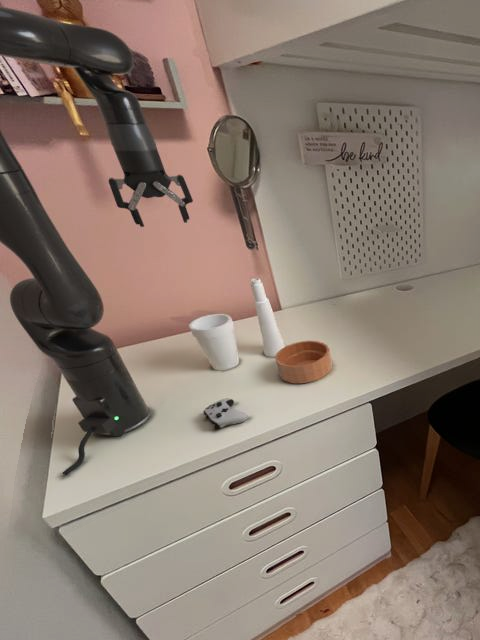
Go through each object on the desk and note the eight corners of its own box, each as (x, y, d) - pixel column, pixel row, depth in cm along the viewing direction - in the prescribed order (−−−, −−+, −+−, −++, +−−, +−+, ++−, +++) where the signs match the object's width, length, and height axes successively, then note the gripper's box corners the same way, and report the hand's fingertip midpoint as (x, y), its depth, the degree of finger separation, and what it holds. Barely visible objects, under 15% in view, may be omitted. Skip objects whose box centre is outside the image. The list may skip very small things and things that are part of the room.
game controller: (251, 416, 90) (225, 410, 85) (238, 437, 90) (211, 432, 85) (233, 398, 96) (208, 391, 91) (221, 417, 95) (195, 412, 90)
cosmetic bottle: (263, 349, 117) (241, 278, 105) (285, 344, 119) (266, 274, 108) (266, 359, 112) (243, 285, 101) (289, 353, 115) (269, 281, 104)
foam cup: (249, 365, 109) (235, 323, 103) (211, 377, 104) (193, 333, 97) (239, 351, 115) (225, 310, 108) (202, 362, 110) (185, 320, 103)
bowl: (319, 386, 102) (315, 368, 99) (270, 382, 103) (264, 364, 100) (339, 359, 113) (336, 342, 110) (295, 356, 114) (290, 339, 111)
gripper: (91, 149, 80) (127, 231, 89) (176, 148, 88) (201, 223, 96) (93, 146, 86) (127, 224, 94) (173, 145, 93) (197, 217, 101)
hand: (164, 224), depth 95 cm, fingers open, 8 cm apart
